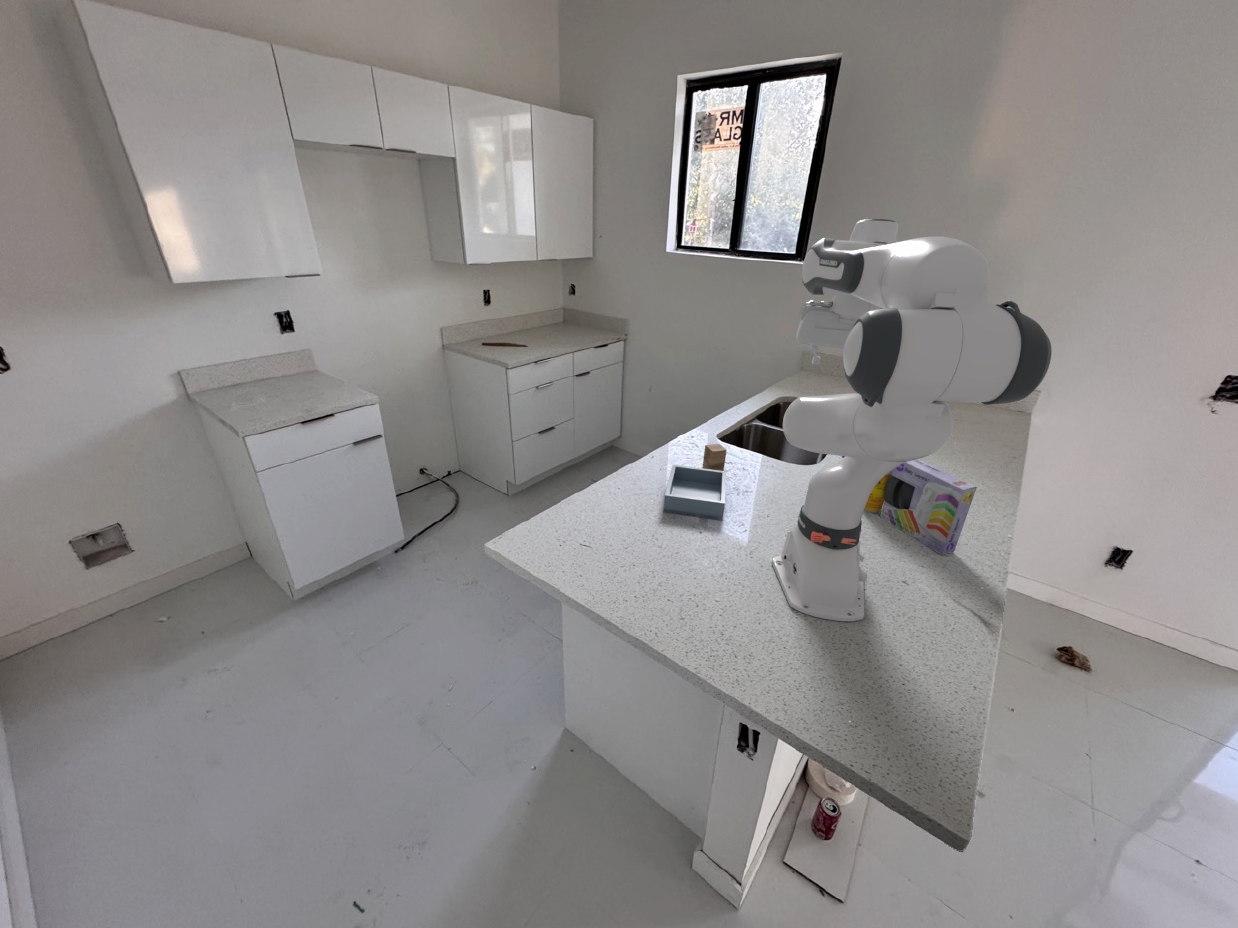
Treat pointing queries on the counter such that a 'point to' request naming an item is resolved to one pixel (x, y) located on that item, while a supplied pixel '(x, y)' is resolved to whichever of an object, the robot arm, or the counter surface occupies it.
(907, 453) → the robot arm
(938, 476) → the cake pan box
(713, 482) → the tote
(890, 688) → the counter surface
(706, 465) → the walnut block
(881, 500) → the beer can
